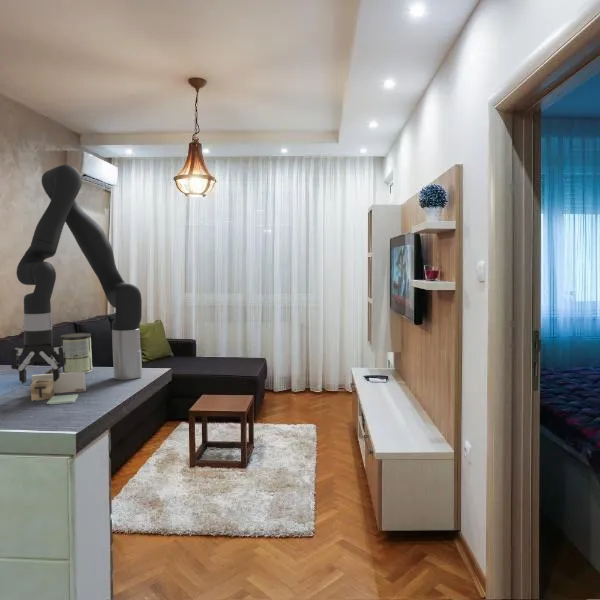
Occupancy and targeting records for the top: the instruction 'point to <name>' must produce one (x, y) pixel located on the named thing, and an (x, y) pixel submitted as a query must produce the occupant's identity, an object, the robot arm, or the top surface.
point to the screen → (65, 381)
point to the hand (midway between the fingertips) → (39, 381)
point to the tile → (63, 399)
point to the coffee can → (77, 352)
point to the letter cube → (42, 389)
